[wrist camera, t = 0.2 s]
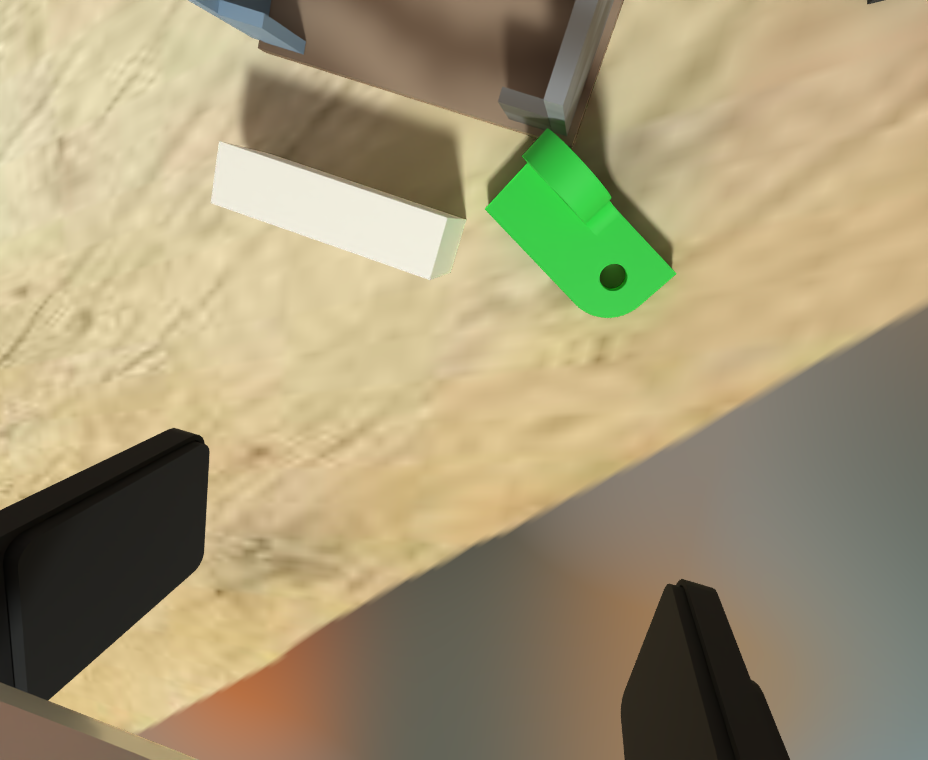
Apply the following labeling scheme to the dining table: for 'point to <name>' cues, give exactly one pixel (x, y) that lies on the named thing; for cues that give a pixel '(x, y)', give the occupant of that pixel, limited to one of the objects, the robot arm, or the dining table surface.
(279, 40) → the sliding end cap
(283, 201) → the slat
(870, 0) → the cleaning product box
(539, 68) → the endcap rack
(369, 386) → the dining table surface
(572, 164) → the mechanical part
